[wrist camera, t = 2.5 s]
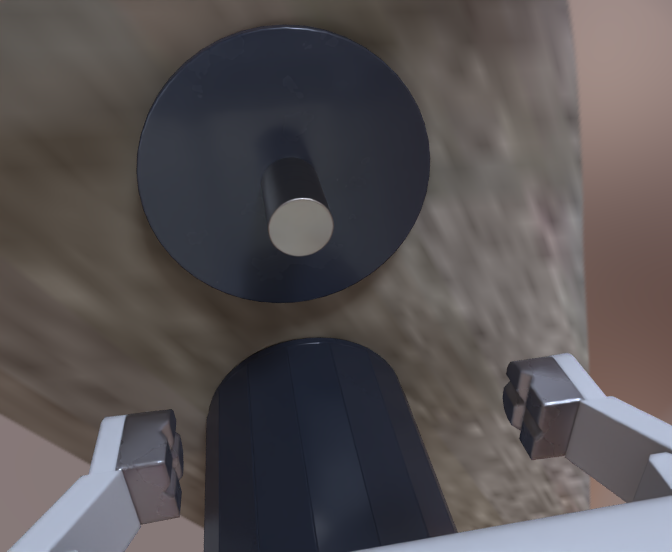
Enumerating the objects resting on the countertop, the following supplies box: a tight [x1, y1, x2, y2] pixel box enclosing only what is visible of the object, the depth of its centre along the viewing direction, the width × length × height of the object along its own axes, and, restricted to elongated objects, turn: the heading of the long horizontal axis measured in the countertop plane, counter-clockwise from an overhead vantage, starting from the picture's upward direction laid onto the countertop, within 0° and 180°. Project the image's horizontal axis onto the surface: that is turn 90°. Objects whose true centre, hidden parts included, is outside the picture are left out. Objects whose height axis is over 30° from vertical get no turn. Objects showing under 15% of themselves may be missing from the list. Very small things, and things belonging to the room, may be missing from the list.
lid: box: [137, 25, 430, 303], centre depth 23 cm, size 12×12×5 cm
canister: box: [204, 337, 458, 552], centre depth 28 cm, size 11×11×12 cm
